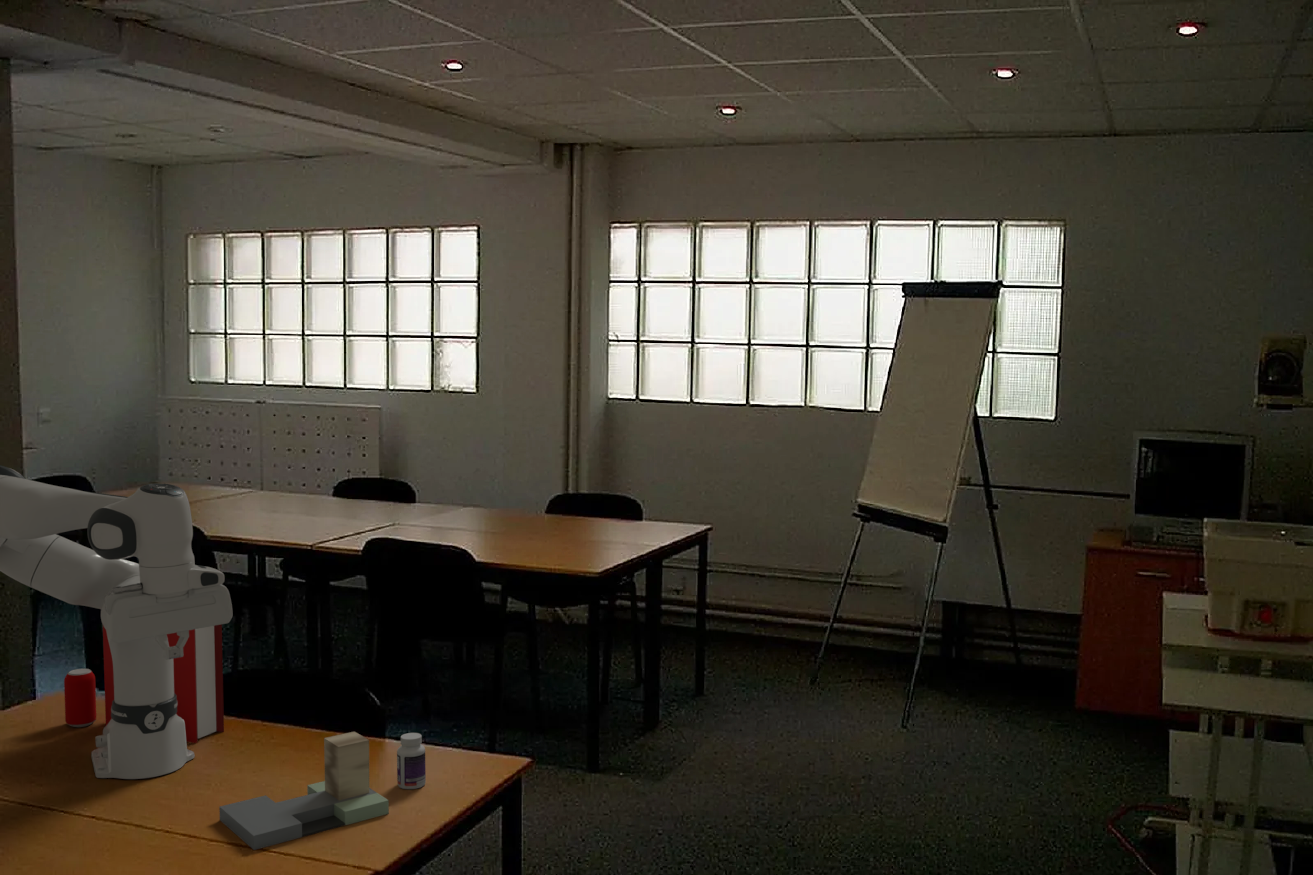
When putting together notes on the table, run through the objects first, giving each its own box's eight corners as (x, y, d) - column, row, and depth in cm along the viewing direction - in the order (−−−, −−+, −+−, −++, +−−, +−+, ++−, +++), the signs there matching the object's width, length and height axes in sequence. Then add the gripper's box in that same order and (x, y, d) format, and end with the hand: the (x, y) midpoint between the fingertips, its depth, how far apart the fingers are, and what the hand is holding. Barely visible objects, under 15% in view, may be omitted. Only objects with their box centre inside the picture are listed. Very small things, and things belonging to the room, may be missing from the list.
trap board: (219, 820, 215) (219, 806, 215) (349, 787, 231) (349, 775, 231) (254, 850, 203) (253, 835, 203) (388, 813, 219) (388, 800, 219)
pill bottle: (431, 782, 234) (431, 733, 233) (414, 792, 229) (414, 742, 228) (408, 778, 236) (408, 729, 236) (391, 787, 232) (391, 738, 231)
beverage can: (101, 724, 266) (99, 671, 265) (72, 730, 262) (70, 677, 261) (90, 718, 271) (88, 665, 270) (61, 724, 266) (59, 671, 265)
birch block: (324, 790, 223) (324, 738, 222) (354, 783, 227) (354, 731, 226) (339, 800, 218) (338, 746, 217) (369, 792, 222) (368, 740, 221)
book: (223, 732, 262) (220, 587, 260) (196, 743, 255) (193, 594, 252) (129, 715, 273) (125, 576, 270) (101, 726, 265) (96, 583, 263)
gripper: (108, 592, 196) (114, 674, 198) (233, 572, 209) (238, 650, 211) (98, 585, 201) (104, 666, 203) (220, 567, 214) (225, 642, 215)
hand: (173, 657), depth 207 cm, fingers closed
